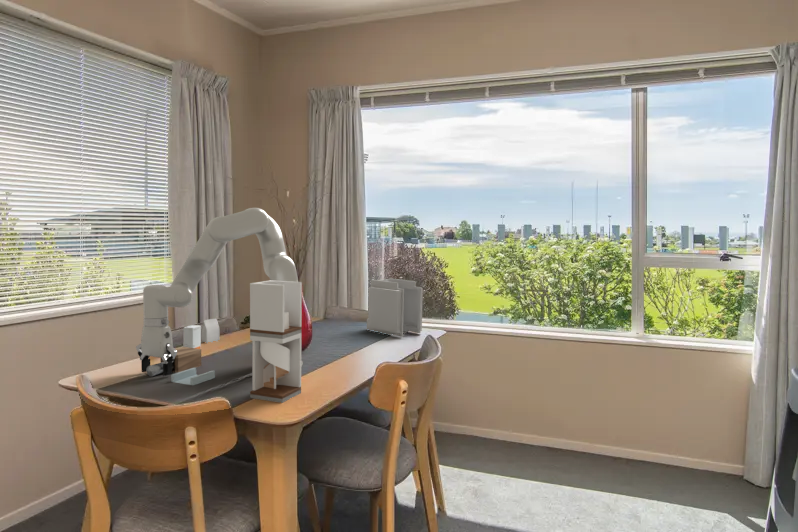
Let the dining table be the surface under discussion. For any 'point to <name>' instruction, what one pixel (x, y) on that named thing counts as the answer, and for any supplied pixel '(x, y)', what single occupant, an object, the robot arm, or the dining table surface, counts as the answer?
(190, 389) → the dining table surface
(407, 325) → the grey file holder
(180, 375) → the cradle
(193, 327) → the skincare box
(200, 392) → the dining table surface
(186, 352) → the hollow wooden box
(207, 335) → the light grey block
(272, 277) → the robot arm
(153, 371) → the axle
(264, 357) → the spiral staircase model
